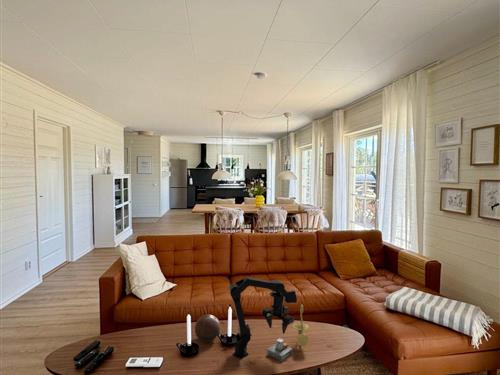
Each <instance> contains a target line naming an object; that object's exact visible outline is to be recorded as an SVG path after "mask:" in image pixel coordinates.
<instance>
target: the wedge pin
mask: <svg viewBox="0 0 500 375" xmlns="http://www.w3.org/2000/svg"><path fill="white" fill-rule="evenodd" d="M284 343H285V340H284V339H283V338H278V339H276V342H275V344H276V350H277V351H279V352H282V351H283V350H284Z"/></svg>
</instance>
